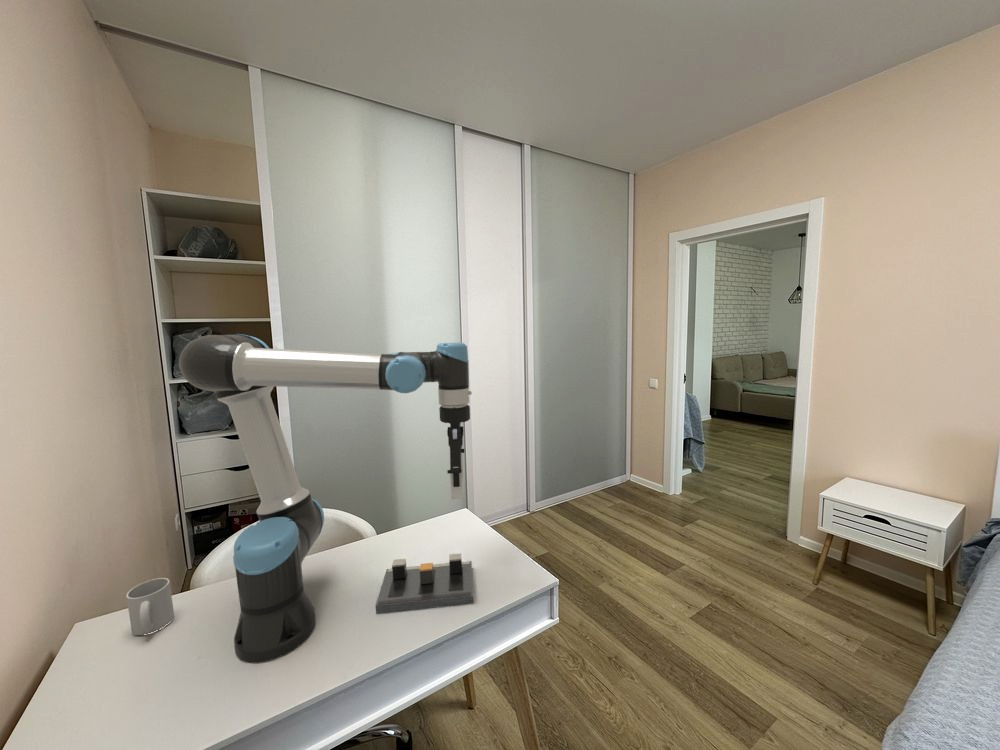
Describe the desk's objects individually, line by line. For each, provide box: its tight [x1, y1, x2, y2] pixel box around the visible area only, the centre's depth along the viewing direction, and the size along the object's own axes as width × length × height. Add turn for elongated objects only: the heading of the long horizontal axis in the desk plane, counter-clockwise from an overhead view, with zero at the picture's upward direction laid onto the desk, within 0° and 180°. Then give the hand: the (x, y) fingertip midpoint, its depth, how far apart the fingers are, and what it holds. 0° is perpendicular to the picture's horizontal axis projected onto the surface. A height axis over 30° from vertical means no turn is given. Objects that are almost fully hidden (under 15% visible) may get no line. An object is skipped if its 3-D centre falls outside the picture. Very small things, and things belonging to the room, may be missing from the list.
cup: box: [125, 577, 175, 636], centre depth 88 cm, size 7×10×9 cm
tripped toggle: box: [419, 562, 434, 584], centre depth 98 cm, size 3×2×4 cm
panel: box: [375, 553, 475, 615], centre depth 98 cm, size 22×14×6 cm, turn 96°
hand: (457, 487), depth 101 cm, fingers open, 13 cm apart
